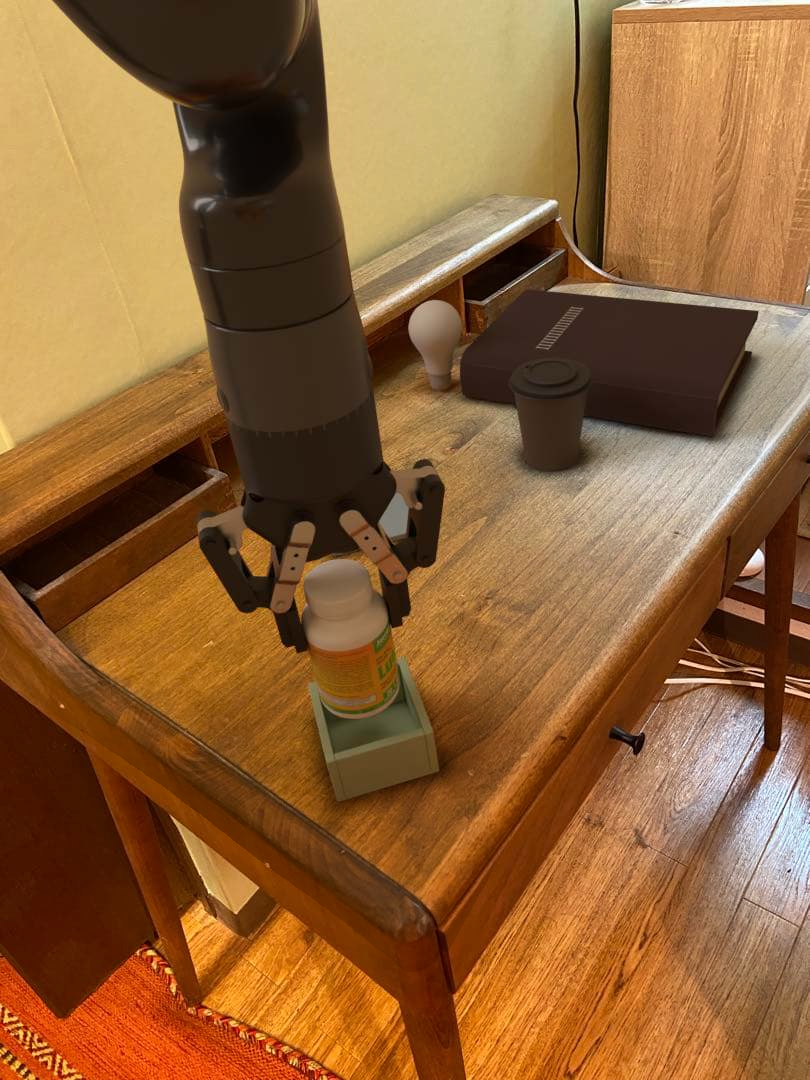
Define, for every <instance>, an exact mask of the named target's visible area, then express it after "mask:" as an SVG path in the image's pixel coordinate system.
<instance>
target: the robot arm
mask: <svg viewBox="0 0 810 1080" xmlns="http://www.w3.org/2000/svg"><path fill="white" fill-rule="evenodd" d="M51 1H52V2H53V4H55V5H56V7H57V8H58V9H59V10H61V12H62V13H63V14H64V15H65V16H66V18H68V19H69V21H71V23H72V24H73V25H74V26H75V27H77V29H78V30H79V31H81V33H83V35H84V36H85V37H86V38H87V39H88V40H89V41H90V42H91V43H92V44H93V45H94V46H95V47H96V48H98V50H100V51H101V52H102V53H103V54H104V55H105V56H107V57H108V58H109V60H111V61H112V62H113V63H115V64H116V65H117V66H118V67H120V68H121V69H122V70H124V72H126V74H128V75H129V76H131V77H133V78H134V79H135V80H137V82H139V83H141V84H142V85H144V86H146V87H147V88H148V89H150V90H151V91H152V92H155V93H156V94H158V95H159V96H161V97H162V98H164V99H167V100H168V101H171V102H172V107H173V111H174V115H175V120H176V121H175V122H176V125H177V130H178V136H179V139H180V144H181V150H182V156H183V158H182V159H183V173H182V179H181V183H180V184H181V185H180V189H179V196H178V215H179V224H180V230H181V236H182V239H183V244H184V250H185V253H186V256H187V260H188V264H189V267H190V271H191V275H192V279H193V282H194V286H195V289H196V294H197V297H198V301H199V306H200V308H201V312H202V314H203V315H202V316H203V321H204V325H205V331H206V338H207V349H208V356H209V361H210V362H209V363H210V365H211V370H212V374H213V377H214V380H215V381H214V382H215V384H216V396H217V399H218V403H219V405H220V407H221V408H222V410H223V414H224V418H225V421H226V426H227V429H228V433H229V436H230V440H231V444H232V448H233V451H234V455H235V459H236V462H237V465H238V469H239V472H240V477H241V479H242V483H243V487H244V489H243V494H242V496H241V499H240V505H238V506H236V507H233V508H232V509H229V510H227V511H224V512H221V513H220V514H218V513H217V512H216V511H214V510H211V509H207V510H202V511H201V512H199V514H198V515H197V516H196V529H197V530H196V531H197V537H198V543H199V544H198V545H199V549H200V550H201V552H202V554H203V555H204V557H205V558H206V560H207V562H208V564H209V566H210V567H211V568H212V570H213V571H214V573H215V575H216V577H217V579H218V580H219V581H220V583H221V584H222V586H223V588H224V589H225V591H226V593H227V594H228V596H229V597H230V599H231V601H232V602H233V604H234V605H235V607H236V608H237V610H238V612H240V613H242V614H252V613H254V612H255V611H256V610H257V609H258V608H260V609H261V608H263V609H268V610H270V611H271V612H272V614H273V616H274V620H275V624H276V627H277V631H278V635H279V638H280V642H281V644H282V645H283V646H284V647H285V648H286V649H287V648H291V647H294V649H295V654H297V655H298V654H302V653H305V652H308V650H307V646H306V642H305V638H304V634H303V630H302V625H301V616H300V614H299V610H298V606H297V602H296V598H295V593H296V589H297V586H298V585H300V583H301V580H302V577H303V573H304V569H305V565H306V564H307V563H310V562H311V563H312V562H315V561H319V560H322V559H323V558H325V557H327V556H329V555H333V554H332V553H347V552H351V551H354V552H356V551H355V550H358V551H360V550H359V547H360V548H361V549H362V550H361V551H362V552H363V553H364V554H365V556H366V557H367V558H368V559H369V561H370V562H371V563H372V564H373V565H374V566H375V565H376V566H377V570H378V577H379V582H380V587H381V589H380V590H381V596H382V597H383V598H384V600H385V602H386V605H387V609H388V614H389V619H390V625H391V629H395V628H399V627H403V626H404V620H403V618H406V617H410V613H411V611H412V604H411V598H410V590H409V583H408V577H409V574H410V573H411V572H412V571H414V570H415V569H416V568H420V569H421V568H422V569H427V568H430V567H431V566H433V565H435V563H436V561H437V554H438V547H439V538H440V530H441V523H442V516H443V509H444V502H445V500H444V499H445V491H446V486H445V484H444V482H443V481H442V479H441V476H440V475H439V472H438V471H437V470H436V467H435V466H434V465H433V462H432V461H431V460H430V459H427V458H422V459H418V460H417V461H416V462H415V463H414V464H413V465H412V468H408V469H391V467H390V466H389V464H387V463H386V462H385V460H384V454H383V448H382V447H383V446H382V441H381V435H380V427H379V420H378V413H377V412H378V411H377V405H376V399H375V393H374V392H375V391H374V385H373V375H374V368H373V362H372V359H371V356H370V354H369V350H368V349H369V348H368V342H367V337H366V332H365V327H364V325H363V320H362V318H361V315H360V311H359V308H358V304H357V300H356V295H355V290H354V285H353V279H352V273H351V272H352V271H351V265H350V260H349V253H348V246H347V238H346V233H345V223H344V219H343V214H342V213H343V212H342V208H341V205H340V204H341V203H340V199H339V196H338V191H337V186H336V183H335V177H334V172H333V167H332V166H333V165H332V160H331V159H332V158H331V153H330V152H331V151H330V129H329V128H330V126H329V113H328V98H327V84H326V69H325V59H324V58H325V57H324V48H323V47H324V46H323V38H322V37H323V35H322V26H321V18H320V17H321V16H320V10H319V9H320V8H319V2H318V1H319V0H51ZM395 493H400V494H401V495H402V497H403V499H404V502H405V504H406V505H407V506H408V507H409V510H408V519H407V529H406V538H404V539H401V540H400V541H398V542H397V543H394V541H392V540H391V539H390V537H389V536H388V535H387V533H386V532H385V531H384V529H383V528H382V526H381V524H380V522H379V521H380V519H381V517H382V516H383V514H384V512H385V511H386V509H387V507H388V506H389V504H390V502H391V500H392V499H393V497H394V495H395ZM247 529H248V530H250V531H251V532H253V533H254V534H255V535H257V536H258V537H261V538H262V539H264V540H265V541H266V542H267V543H269V544H270V558H269V562H268V566H267V570H266V574H265V575H254V574H253V573H252V571H251V570H250V568H249V566H248V564H247V563H246V561H245V558H244V557H243V555H242V554H241V552H240V550H241V549H242V547H243V543H244V541H243V537H242V535H243V533H244V531H246V530H247ZM351 553H352V552H351ZM347 554H348V553H347Z"/></svg>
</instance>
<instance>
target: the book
mask: <svg viewBox="0 0 810 1080" xmlns="http://www.w3.org/2000/svg"><path fill="white" fill-rule="evenodd" d="M758 319H759V310H756V309H755V310H754V309H745V308H744V309H743V308H732V307H722V306H712V305H701V304H700V305H699V304H690V303H689V304H688V303H678V302H668V301H667V302H666V301H657V300H647V299H638V298H637V299H635V298H626V297H625V298H624V297H613V296H603V295H593V294H582V293H571V292H559V291H550V290H540V289H539V290H538V289H530V288H529V289H528V288H524V290H523V291H522V292H521V293H520V294H519V295H518V296H517V297H516V298H515V299H514V300H513V301H512V302H511V303H510V304H509V305H508V306H507V307H506V308H505V309H504V310H503V311H502V312H501V313H500V314H499V315H498V316H497V317H496V318H495V319H494V320H493V321H492V322H491V323H490V324H489V325H488V326H487V327H486V328H485V329H484V330H483V331H482V332H481V333H480V334H478V336H477V337H475V339H474V340H473V341H472V342H471V343H470V344H469V345H468V346H467V347H466V348H465V349H464V351H463V353H462V355H461V357H460V358H461V359H460V361H459V384H460V389H461V394H462V395H463V396H464V397H466V398H471V399H477V400H481V401H488V402H495V403H500V404H501V403H502V404H507V405H514V406H516V400H515V394H514V392H513V391H512V390H511V388H510V387H509V381H508V380H509V378H510V377H511V375H512V373H513V371H514V370H515V369H516V368H517V367H519V366H520V365H522V364H524V363H527V362H529V361H533V360H536V359H542V358H566V359H571V360H575V361H578V362H580V363H582V364H584V365H585V366H586V367H587V368H588V369H589V371H590V372H591V373H592V376H593V383H592V385H591V387H590V388H589V389H588V391H587V397H586V404H585V411H584V417H589V418H595V419H601V420H607V421H613V422H620V423H626V424H632V425H638V426H645V427H651V428H657V429H663V430H668V431H675V432H682V433H686V434H687V433H688V434H694V435H699V436H707V437H712V438H714V437H715V435H716V434H717V432H718V429H719V428H720V426H721V424H722V421H723V419H724V417H725V415H726V413H727V411H728V409H729V407H730V405H731V403H732V400H733V399H734V397H735V394H736V392H737V390H738V388H739V385H740V383H741V382H742V380H743V378H744V375H745V373H746V371H747V369H748V367H749V364H750V362H751V360H752V357H753V351H750V350H746V344H747V341H748V339H749V338H750V335H751V333H752V332H753V329H754V327H755V326H756V325H755V324H756V322H757V321H758Z"/></svg>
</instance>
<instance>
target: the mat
mask: <svg viewBox="0 0 810 1080" xmlns="http://www.w3.org/2000/svg"><path fill="white" fill-rule="evenodd" d="M408 510H409V507H408V506H407V505H406V504H405V502H404V499H403V497H402V495H401V494H400V493H395V495H394V497H393V499H392V500H391V502H390V504H389V506H388V507H387V509H386V511H385V512H384V514H383V516H382V517H381V519H380V521H379V522H380V524H381V526H382V528H383V529H384V531H385V532H386V533H387V535H388V536H389V537H390V539H391V540H392V541H393V542H396V541H401V540H404V539H406V529H407V519H408ZM358 551H363V550H362V549H361V548H360V547H359V550H355V551H351V552H347V553H332V554H331V555H332V557H334V558H335V557H338V556H342V555H347V554H351V553H354V552H358Z"/></svg>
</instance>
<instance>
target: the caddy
mask: <svg viewBox="0 0 810 1080" xmlns="http://www.w3.org/2000/svg"><path fill="white" fill-rule="evenodd" d="M396 661H397V667H398V673H399V683H400V684H399V690H398V693H397V695H396V697H395V699H394V700H393V702H392V703H391V704H390V705H389V706H388V707H387V708H386V709H384V710H383V711H381V712H379V713H377V714H375V715H373V716H370V717H366V718H360V719H348V718H343V717H339V716H337V715H335V714H333V713H332V712H330V711H329V710H328V709H327V708H326V707H325V706H324V704H323V703H322V701H321V698H320V695H319V692H318V688H317V685H316V681H312V682H308V684H307V688H308V691H309V695H310V699H311V704H312V708H313V712H314V716H315V721H316V727H317V728H318V729H317V730H318V734H319V738H320V743H321V746H322V751H323V755H324V759H325V764H326V768H327V771H328V774H329V778H330V781H331V785H332V788H333V792H334V795H335V799H336V801H337V803H339V802H343V801H346V800H349V799H352V798H356V797H359V796H362V795H366V794H368V793H372V792H373V793H374V792H376V791H379V790H383V789H385V788H389V787H392V786H395V785H398V784H402V783H405V782H408V781H412V780H415V779H419V778H421V777H425V776H429V775H432V774H435V773H438V772H440V766H439V759H438V753H437V746H436V740H435V734H434V729H433V727H432V724H431V721H430V719H429V716H428V713H427V711H426V708H425V706H424V703H423V700H422V698H421V695H420V692H419V689H418V687H417V685H416V682H415V679H414V676H413V674H412V671H411V669H410V666H409V664H408V659H407V658H406V656H401V657H398V658H396Z"/></svg>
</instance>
